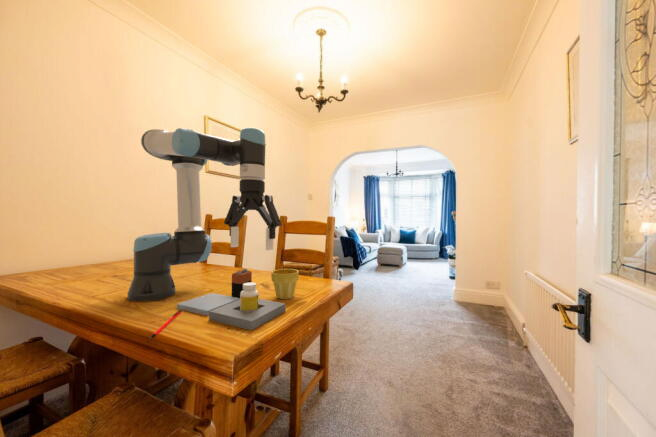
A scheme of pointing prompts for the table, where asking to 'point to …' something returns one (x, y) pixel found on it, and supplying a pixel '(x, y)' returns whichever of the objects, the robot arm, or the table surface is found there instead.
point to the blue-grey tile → (206, 303)
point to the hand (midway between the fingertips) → (251, 248)
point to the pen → (166, 324)
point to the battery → (240, 281)
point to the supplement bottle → (249, 298)
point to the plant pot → (285, 282)
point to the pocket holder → (247, 314)
